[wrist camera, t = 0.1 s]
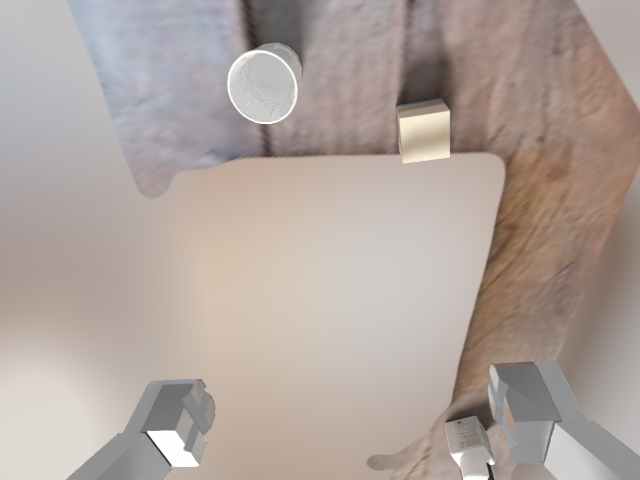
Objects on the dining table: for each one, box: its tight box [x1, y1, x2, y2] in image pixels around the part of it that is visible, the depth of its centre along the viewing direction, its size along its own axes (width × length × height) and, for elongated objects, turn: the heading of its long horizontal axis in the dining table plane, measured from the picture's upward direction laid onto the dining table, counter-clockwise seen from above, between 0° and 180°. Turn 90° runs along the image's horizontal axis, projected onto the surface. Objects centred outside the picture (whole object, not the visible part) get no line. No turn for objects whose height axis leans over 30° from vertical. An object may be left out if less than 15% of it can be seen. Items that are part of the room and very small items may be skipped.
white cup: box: [227, 42, 302, 124], centre depth 48 cm, size 8×8×10 cm
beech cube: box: [396, 98, 450, 163], centre depth 52 cm, size 6×6×6 cm
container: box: [445, 416, 495, 480], centre depth 89 cm, size 8×8×13 cm
